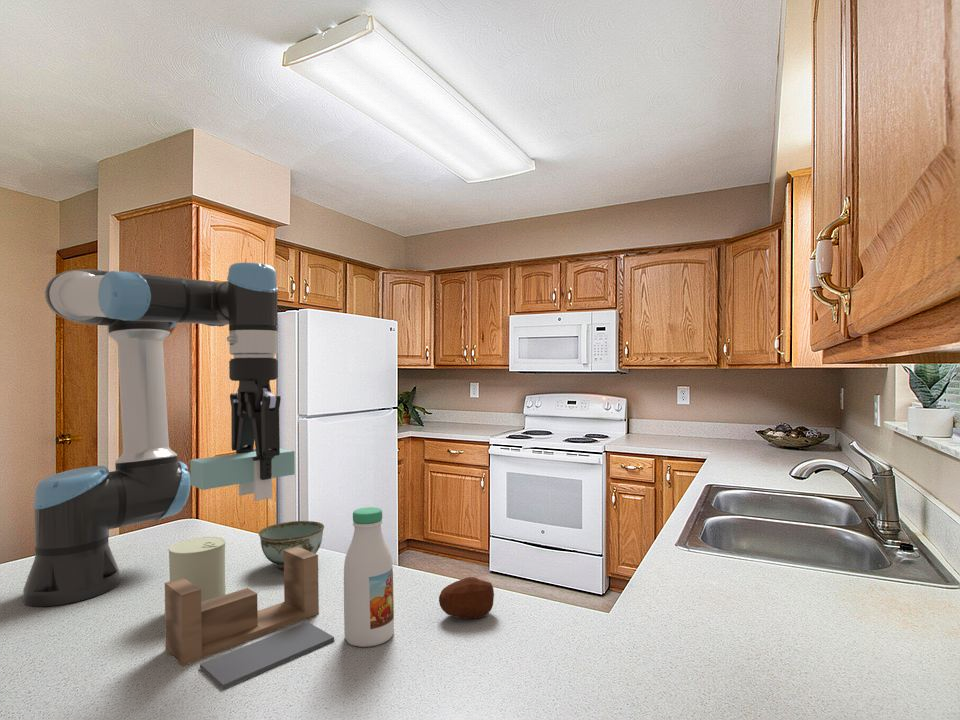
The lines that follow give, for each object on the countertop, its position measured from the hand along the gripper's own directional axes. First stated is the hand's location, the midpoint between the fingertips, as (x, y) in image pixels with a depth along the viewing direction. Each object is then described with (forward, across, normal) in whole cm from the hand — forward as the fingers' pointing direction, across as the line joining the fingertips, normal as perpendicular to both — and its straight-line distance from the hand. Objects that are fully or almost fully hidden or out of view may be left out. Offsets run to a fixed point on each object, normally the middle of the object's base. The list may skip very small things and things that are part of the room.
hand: (255, 496), depth 91 cm
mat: (+22, +10, -3) cm, 24 cm away
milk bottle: (+22, +17, +10) cm, 30 cm away
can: (+22, -15, -4) cm, 27 cm away
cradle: (+22, 0, -1) cm, 22 cm away
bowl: (+22, -22, +18) cm, 36 cm away
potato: (+22, +24, +25) cm, 41 cm away
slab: (-3, 0, -2) cm, 3 cm away
